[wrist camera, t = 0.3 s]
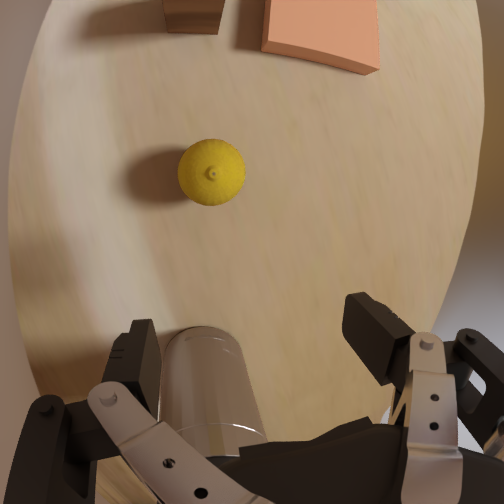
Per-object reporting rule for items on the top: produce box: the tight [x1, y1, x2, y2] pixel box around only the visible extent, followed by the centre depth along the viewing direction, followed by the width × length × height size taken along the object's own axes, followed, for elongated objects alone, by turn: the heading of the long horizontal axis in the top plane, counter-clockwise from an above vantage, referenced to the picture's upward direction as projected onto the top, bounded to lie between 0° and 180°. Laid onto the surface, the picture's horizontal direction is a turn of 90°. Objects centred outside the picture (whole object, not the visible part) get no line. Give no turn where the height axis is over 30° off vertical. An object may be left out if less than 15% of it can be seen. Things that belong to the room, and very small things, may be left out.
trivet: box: [261, 0, 380, 75], centre depth 23 cm, size 12×12×3 cm
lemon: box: [178, 139, 246, 206], centre depth 24 cm, size 6×6×8 cm
